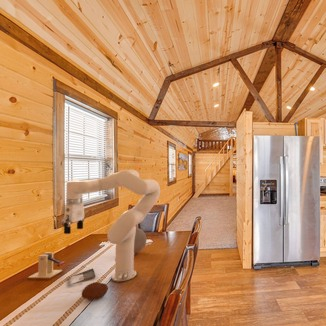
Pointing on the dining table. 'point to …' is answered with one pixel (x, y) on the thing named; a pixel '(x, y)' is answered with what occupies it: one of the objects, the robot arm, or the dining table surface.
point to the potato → (94, 291)
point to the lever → (55, 260)
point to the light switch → (86, 275)
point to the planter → (139, 240)
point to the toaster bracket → (45, 267)
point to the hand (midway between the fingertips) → (73, 231)
